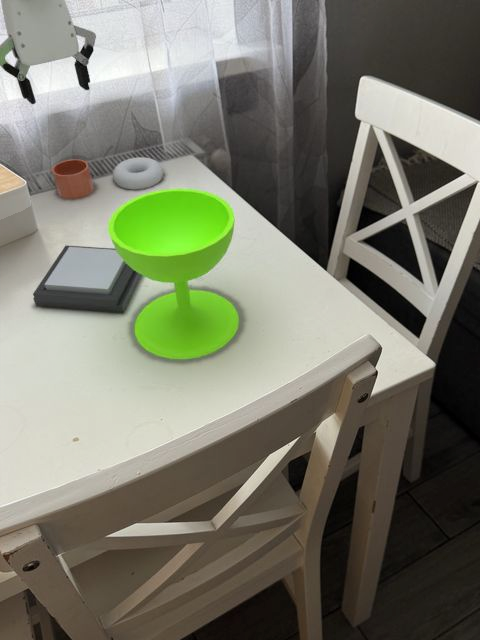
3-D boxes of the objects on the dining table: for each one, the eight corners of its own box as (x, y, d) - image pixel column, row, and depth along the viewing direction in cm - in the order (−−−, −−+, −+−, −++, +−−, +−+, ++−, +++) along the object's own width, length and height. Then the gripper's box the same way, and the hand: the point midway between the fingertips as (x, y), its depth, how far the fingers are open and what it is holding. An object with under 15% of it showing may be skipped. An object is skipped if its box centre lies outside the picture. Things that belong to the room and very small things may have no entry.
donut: (126, 168, 125) (106, 190, 118) (123, 152, 122) (102, 174, 115) (171, 172, 123) (153, 195, 116) (169, 156, 120) (151, 179, 113)
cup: (54, 201, 115) (46, 175, 111) (67, 184, 120) (60, 158, 116) (87, 203, 114) (80, 176, 111) (99, 185, 119) (93, 159, 115)
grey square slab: (47, 292, 90) (44, 284, 89) (71, 254, 97) (69, 246, 96) (110, 297, 89) (108, 289, 88) (130, 258, 96) (128, 250, 95)
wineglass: (172, 281, 96) (155, 179, 83) (260, 309, 90) (256, 204, 78) (110, 342, 86) (81, 236, 73) (205, 378, 80) (190, 270, 68)
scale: (35, 311, 91) (29, 293, 89) (67, 262, 100) (62, 245, 98) (123, 318, 90) (119, 300, 87) (147, 267, 99) (144, 250, 96)
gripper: (72, -32, 97) (96, 77, 109) (-36, -14, 90) (2, 100, 102) (90, -24, 92) (113, 89, 104) (-22, -4, 86) (16, 114, 98)
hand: (58, 94), depth 103 cm, fingers open, 9 cm apart
